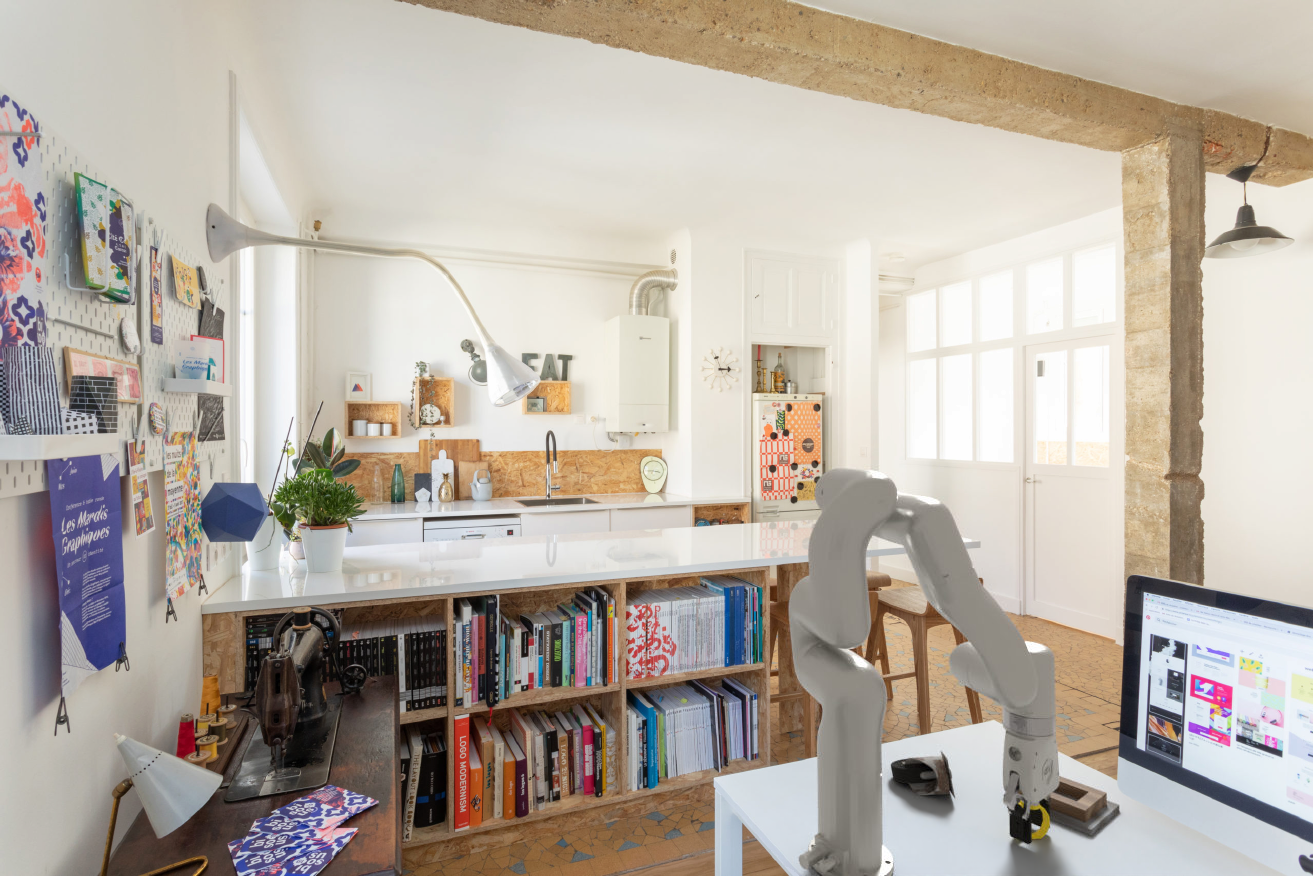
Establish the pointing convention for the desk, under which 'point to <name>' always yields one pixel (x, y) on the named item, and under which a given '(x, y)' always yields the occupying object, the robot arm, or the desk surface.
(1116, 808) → the frame
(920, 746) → the desk surface
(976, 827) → the desk surface
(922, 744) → the desk surface
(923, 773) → the caster wheel
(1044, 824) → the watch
